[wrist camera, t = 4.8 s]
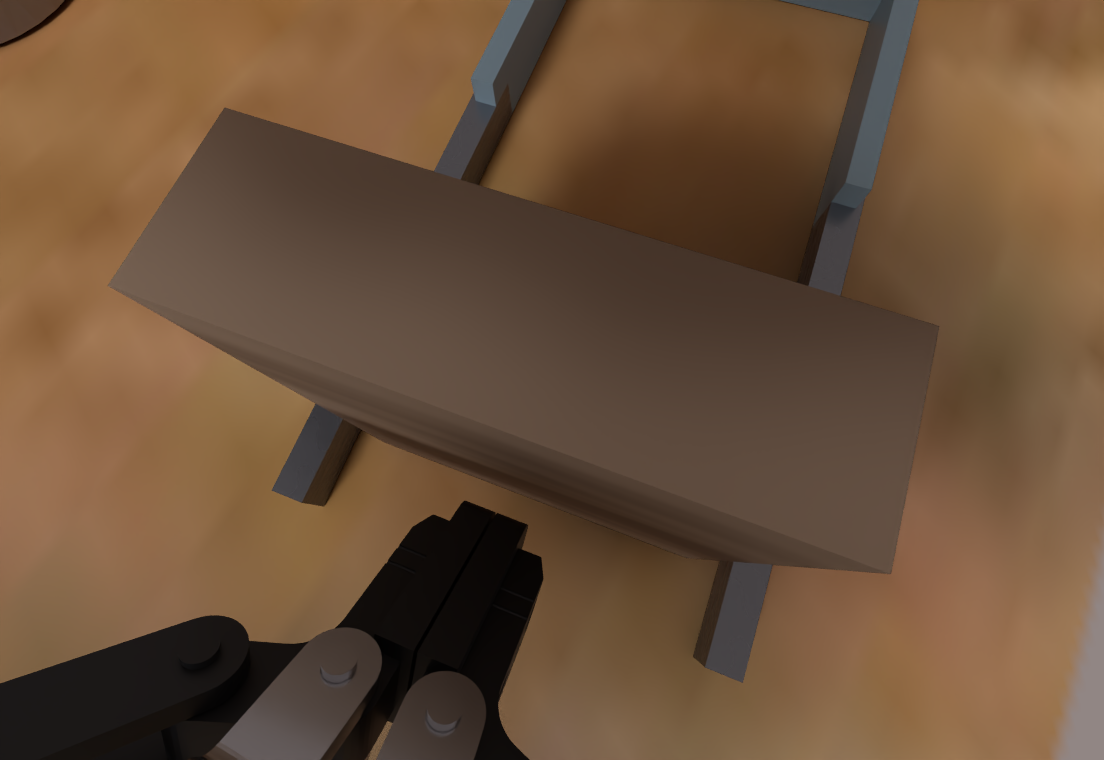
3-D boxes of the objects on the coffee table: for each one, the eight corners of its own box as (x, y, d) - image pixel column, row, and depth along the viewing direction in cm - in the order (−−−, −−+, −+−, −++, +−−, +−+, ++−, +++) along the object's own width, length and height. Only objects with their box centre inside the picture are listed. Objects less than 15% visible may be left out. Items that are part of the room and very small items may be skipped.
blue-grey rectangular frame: (834, 233, 20) (871, 189, 17) (482, 130, 21) (470, 78, 19) (893, 11, 22) (931, -53, 20) (577, -63, 24) (577, -130, 22)
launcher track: (727, 670, 16) (742, 682, 14) (295, 495, 18) (271, 490, 16) (847, 208, 20) (869, 182, 18) (488, 106, 22) (482, 75, 20)
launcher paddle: (686, 557, 16) (890, 574, 6) (383, 441, 18) (107, 285, 7) (714, 462, 17) (939, 326, 7) (422, 358, 19) (223, 106, 8)
